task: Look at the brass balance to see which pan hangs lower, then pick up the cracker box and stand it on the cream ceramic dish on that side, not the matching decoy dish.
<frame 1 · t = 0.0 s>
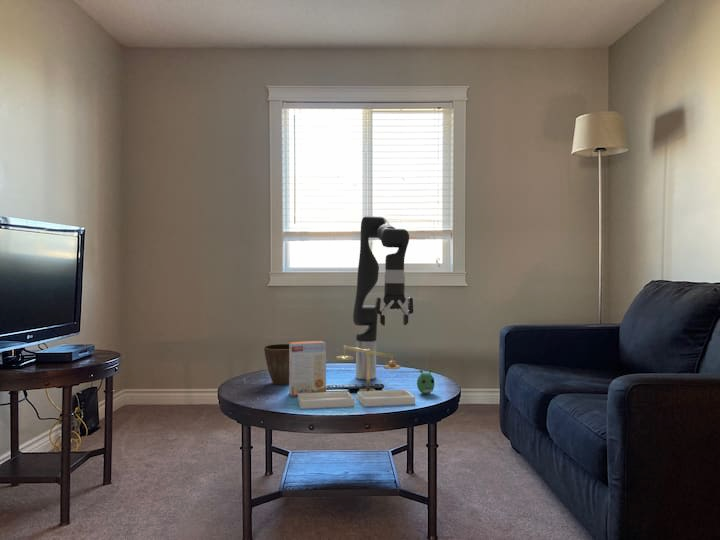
hand: (394, 325, 195), 29 cm above the table, fingers open, 8 cm apart
cracker box: (307, 394, 207), on the table
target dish: (385, 401, 198), on the table
plant pot: (281, 383, 226), on the table
alien toy: (425, 394, 210), on the table
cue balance: (368, 394, 209), on the table
decoy dish: (325, 403, 194), on the table
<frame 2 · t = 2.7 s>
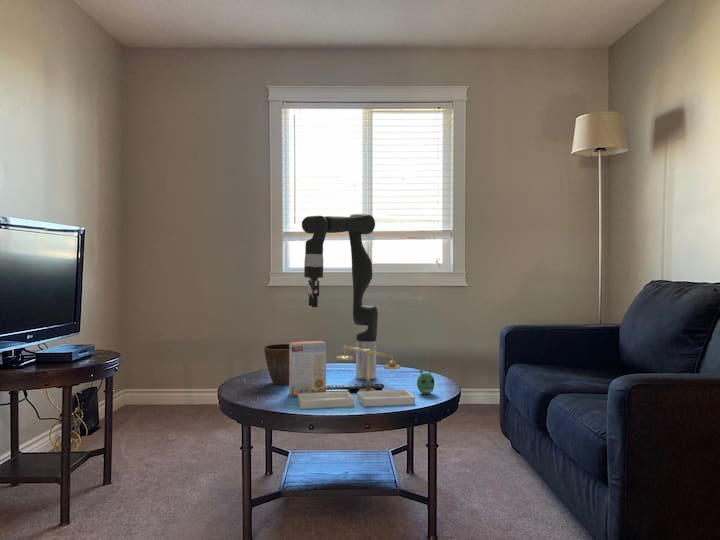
hand: (313, 306, 207), 35 cm above the table, fingers open, 8 cm apart
nothing on the table moved.
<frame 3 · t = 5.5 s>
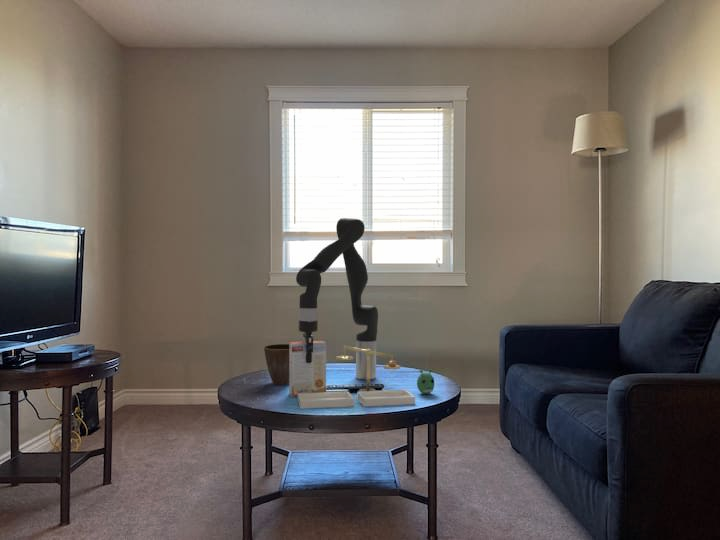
hand: (307, 361, 207), 13 cm above the table, fingers closed on cracker box, 6 cm apart
cracker box: (307, 394, 207), on the table, touching gripper
everything else where it was.
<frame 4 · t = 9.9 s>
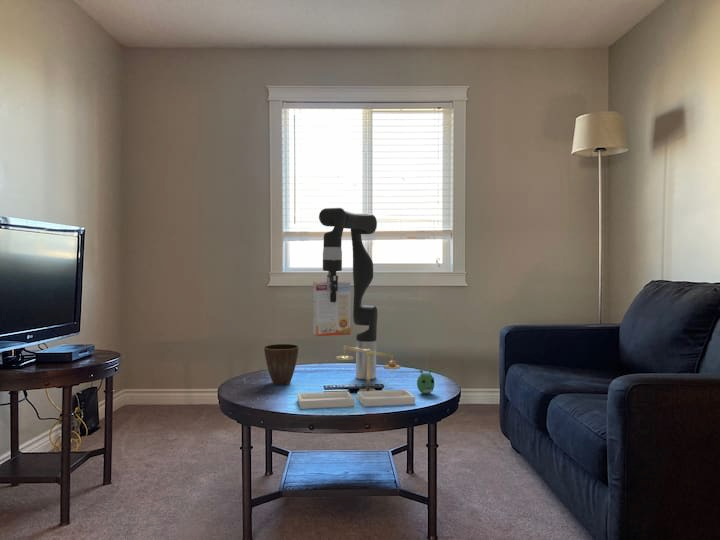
hand: (332, 301, 204), 37 cm above the table, fingers closed on cracker box, 6 cm apart
cracker box: (331, 335, 204), point 24 cm above the table, touching gripper
everything else where it was.
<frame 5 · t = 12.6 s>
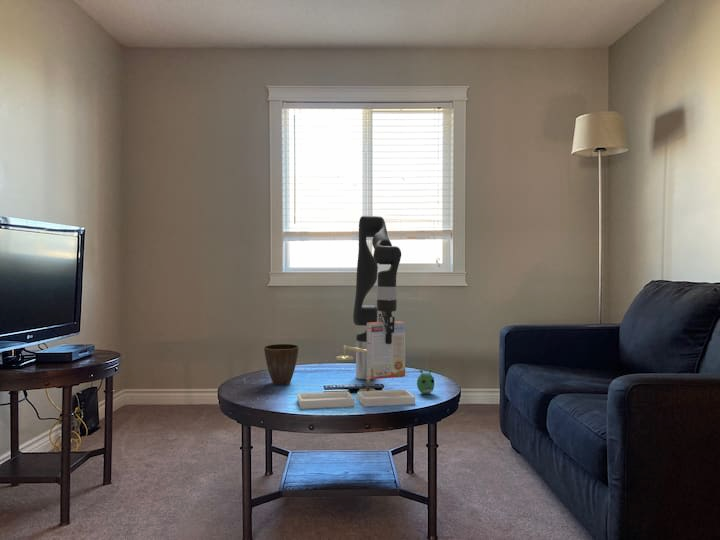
hand: (386, 342, 198), 22 cm above the table, fingers closed on cracker box, 6 cm apart
cracker box: (385, 377, 198), point 9 cm above the table, touching gripper
everything else where it was.
when the fingers open (15 cm above the table, at t = 14.8 s): cracker box drops 1 cm, resting on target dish.
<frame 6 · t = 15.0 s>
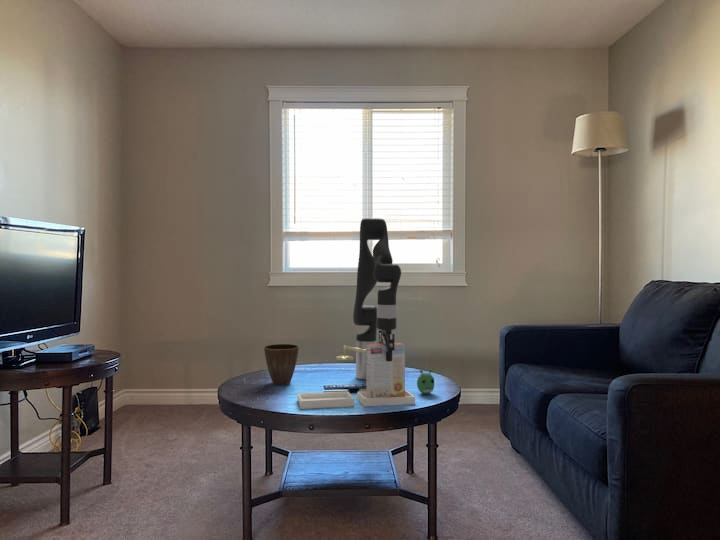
hand: (386, 359, 198), 16 cm above the table, fingers open, 8 cm apart
cracker box: (385, 398, 198), point 1 cm above the table, touching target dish
everything else where it was.
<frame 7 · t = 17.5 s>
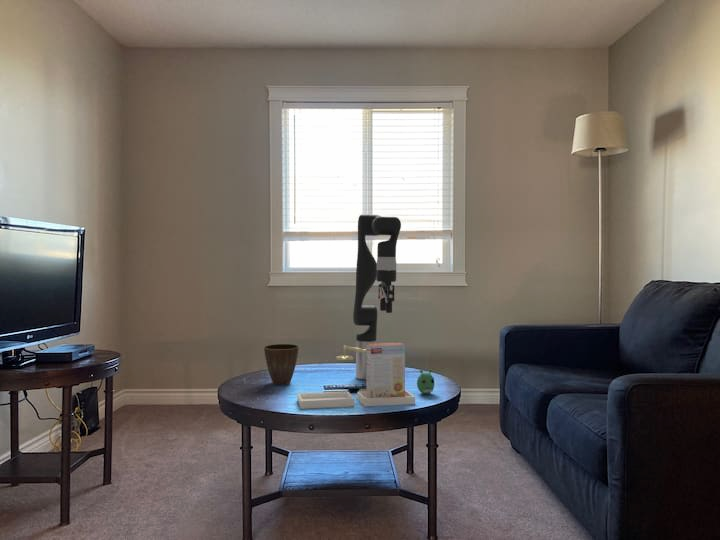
hand: (385, 311, 198), 34 cm above the table, fingers open, 8 cm apart
nothing on the table moved.
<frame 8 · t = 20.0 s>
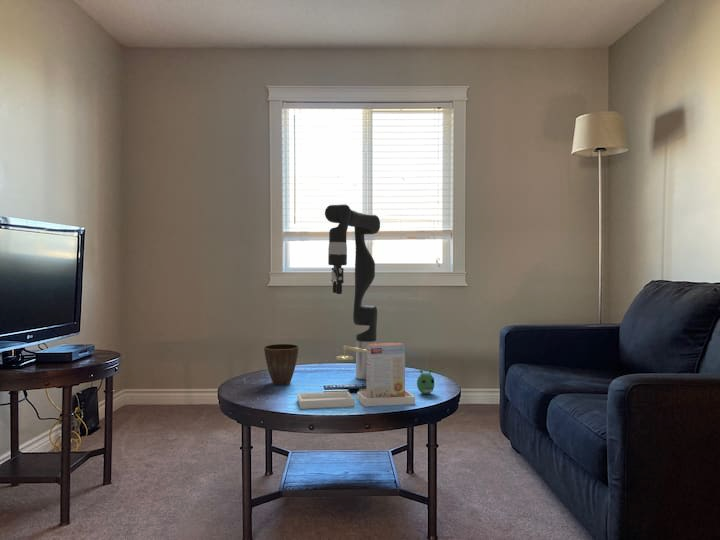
hand: (337, 293, 212), 40 cm above the table, fingers open, 8 cm apart
nothing on the table moved.
at the end: cracker box inside the target area on the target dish (0.4 cm from its centre), point 0.8 cm above the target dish's base; cracker box tilted 0°; the gripper is holding nothing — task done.
